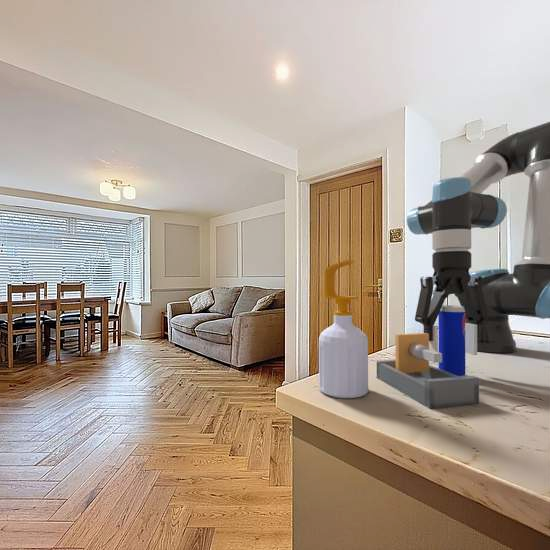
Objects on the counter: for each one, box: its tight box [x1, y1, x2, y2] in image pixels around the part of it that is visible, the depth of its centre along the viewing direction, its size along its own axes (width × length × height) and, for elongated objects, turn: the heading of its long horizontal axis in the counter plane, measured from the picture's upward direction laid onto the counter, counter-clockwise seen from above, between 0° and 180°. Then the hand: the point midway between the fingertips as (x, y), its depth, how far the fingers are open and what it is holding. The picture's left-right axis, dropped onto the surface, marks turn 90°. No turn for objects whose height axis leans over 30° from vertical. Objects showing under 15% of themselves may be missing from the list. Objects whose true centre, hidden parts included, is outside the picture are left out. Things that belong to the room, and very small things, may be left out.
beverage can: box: [437, 304, 466, 377], centre depth 72 cm, size 5×5×15 cm
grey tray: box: [376, 358, 480, 409], centre depth 64 cm, size 10×17×4 cm, turn 12°
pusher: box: [395, 332, 442, 373], centre depth 63 cm, size 7×8×8 cm
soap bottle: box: [318, 259, 369, 399], centre depth 63 cm, size 9×9×25 cm
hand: (451, 354), depth 72 cm, fingers open, 9 cm apart
